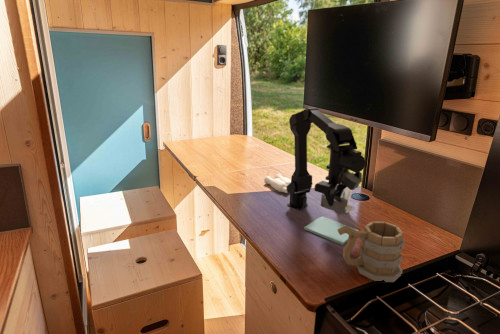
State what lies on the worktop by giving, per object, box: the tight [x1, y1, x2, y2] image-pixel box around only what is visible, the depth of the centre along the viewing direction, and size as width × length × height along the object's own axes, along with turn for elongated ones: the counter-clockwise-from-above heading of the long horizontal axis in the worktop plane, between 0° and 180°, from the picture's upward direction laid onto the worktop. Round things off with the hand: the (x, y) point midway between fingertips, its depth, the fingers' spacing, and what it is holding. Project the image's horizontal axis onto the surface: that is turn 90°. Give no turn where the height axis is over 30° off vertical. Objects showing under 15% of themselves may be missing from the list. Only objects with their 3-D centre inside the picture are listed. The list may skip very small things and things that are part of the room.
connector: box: [320, 193, 355, 214], centre depth 125 cm, size 12×4×4 cm, turn 47°
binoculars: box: [263, 173, 291, 194], centre depth 168 cm, size 10×16×5 cm, turn 30°
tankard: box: [338, 221, 406, 283], centre depth 105 cm, size 20×13×15 cm, turn 88°
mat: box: [303, 215, 360, 246], centre depth 129 cm, size 16×12×1 cm
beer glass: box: [336, 187, 353, 214], centre depth 143 cm, size 7×7×15 cm
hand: (333, 204), depth 126 cm, fingers closed on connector, 4 cm apart
